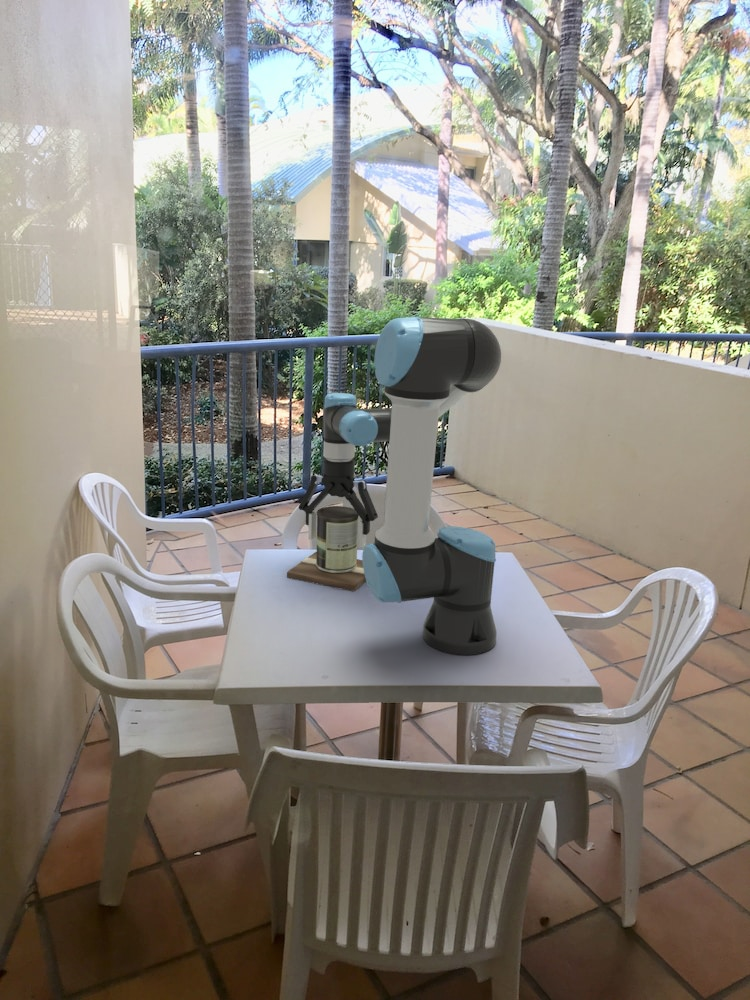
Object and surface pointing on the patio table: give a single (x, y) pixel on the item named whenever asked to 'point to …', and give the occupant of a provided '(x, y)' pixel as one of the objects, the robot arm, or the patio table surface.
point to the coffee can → (337, 539)
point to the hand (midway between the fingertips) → (336, 542)
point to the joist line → (313, 561)
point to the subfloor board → (327, 575)
